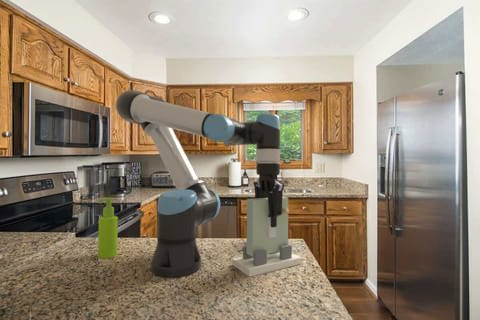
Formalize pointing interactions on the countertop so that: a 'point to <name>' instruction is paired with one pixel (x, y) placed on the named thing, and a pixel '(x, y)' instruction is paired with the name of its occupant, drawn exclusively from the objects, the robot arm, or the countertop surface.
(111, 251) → the soap dispenser
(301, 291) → the countertop surface
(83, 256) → the countertop surface
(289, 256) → the cabinet base
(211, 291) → the countertop surface
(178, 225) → the robot arm
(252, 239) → the door
